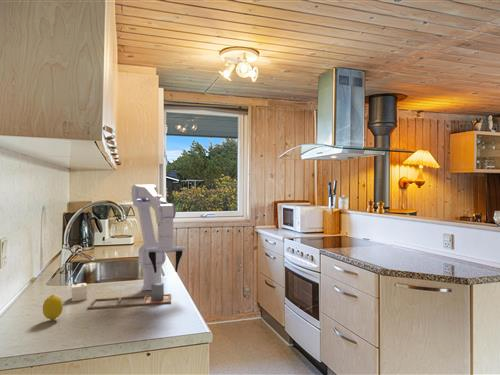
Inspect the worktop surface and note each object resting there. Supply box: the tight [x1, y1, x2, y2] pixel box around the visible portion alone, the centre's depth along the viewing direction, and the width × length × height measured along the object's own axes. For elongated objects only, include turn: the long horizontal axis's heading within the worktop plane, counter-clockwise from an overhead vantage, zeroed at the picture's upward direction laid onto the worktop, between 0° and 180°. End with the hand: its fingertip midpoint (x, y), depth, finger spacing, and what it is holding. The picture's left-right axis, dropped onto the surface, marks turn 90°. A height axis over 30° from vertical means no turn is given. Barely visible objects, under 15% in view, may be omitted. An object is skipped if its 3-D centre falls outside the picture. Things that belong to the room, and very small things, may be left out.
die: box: [71, 282, 88, 302], centre depth 139 cm, size 5×5×5 cm
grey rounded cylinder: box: [150, 282, 165, 301], centre depth 135 cm, size 4×4×6 cm
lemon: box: [42, 294, 64, 321], centre depth 116 cm, size 6×6×8 cm
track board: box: [87, 293, 172, 310], centre depth 134 cm, size 10×28×1 cm, turn 101°
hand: (165, 271), depth 140 cm, fingers open, 7 cm apart
